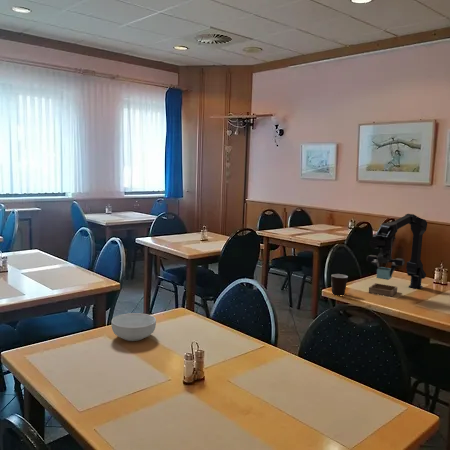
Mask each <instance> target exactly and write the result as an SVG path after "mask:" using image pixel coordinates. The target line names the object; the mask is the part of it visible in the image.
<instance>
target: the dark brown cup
mask: <svg viewBox="0 0 450 450" xmlns="http://www.w3.org/2000/svg"><path fill="white" fill-rule="evenodd" d="M348 277H349V276H348V275H346V274H340V273H333V274H331V276H330V280H331V283H330V284H331V294H332V293H333V294H334V295H333V294H332V295H333V296H335V295H337V296H336V297H341V296H340V295H344V294H345V293H346V290H347V289H346V288H347V285H348ZM338 295H339V296H338ZM345 295H346V294H345ZM345 295H344V296H345Z"/></svg>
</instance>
